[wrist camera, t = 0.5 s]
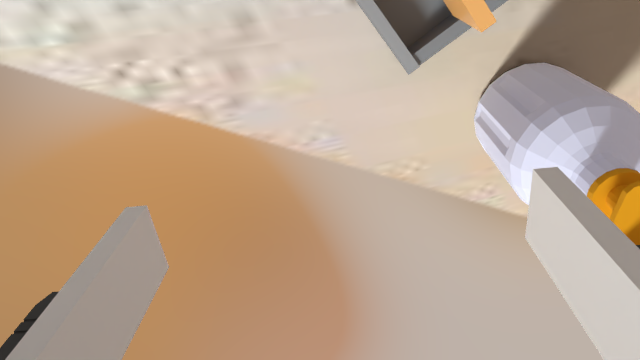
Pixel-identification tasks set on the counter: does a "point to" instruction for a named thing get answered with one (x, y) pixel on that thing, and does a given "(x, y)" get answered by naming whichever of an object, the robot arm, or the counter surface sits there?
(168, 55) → the counter surface
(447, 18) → the grey tray
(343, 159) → the counter surface
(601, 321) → the robot arm
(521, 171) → the soap bottle
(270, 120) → the counter surface
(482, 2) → the pusher
